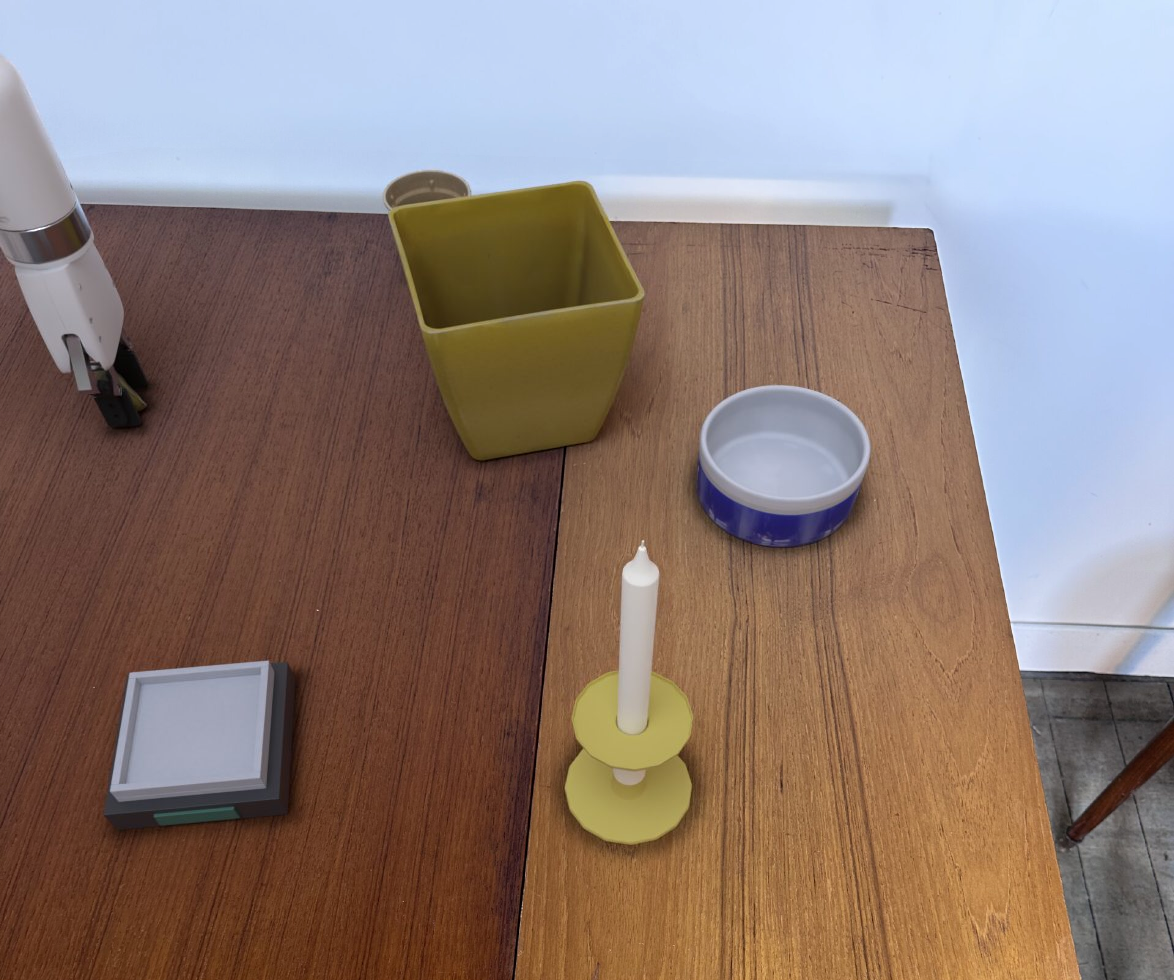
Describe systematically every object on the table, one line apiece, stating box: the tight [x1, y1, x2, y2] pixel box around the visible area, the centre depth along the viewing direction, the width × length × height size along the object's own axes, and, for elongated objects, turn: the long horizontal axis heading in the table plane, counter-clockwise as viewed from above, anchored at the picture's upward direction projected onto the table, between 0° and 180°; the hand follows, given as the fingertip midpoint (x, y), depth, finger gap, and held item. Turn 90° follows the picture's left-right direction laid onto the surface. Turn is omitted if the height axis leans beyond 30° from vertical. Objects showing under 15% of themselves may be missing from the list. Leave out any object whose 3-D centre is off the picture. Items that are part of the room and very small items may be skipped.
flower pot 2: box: [387, 180, 645, 461], centre depth 91 cm, size 19×19×17 cm
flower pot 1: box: [382, 169, 472, 212], centre depth 107 cm, size 9×9×9 cm
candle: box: [564, 539, 694, 846], centre depth 65 cm, size 10×10×27 cm
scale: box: [103, 660, 296, 831], centre depth 76 cm, size 13×13×4 cm
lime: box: [94, 370, 148, 412], centre depth 97 cm, size 4×5×5 cm
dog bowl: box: [696, 384, 871, 548], centre depth 90 cm, size 15×15×6 cm
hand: (129, 404), depth 99 cm, fingers closed on lime, 5 cm apart
